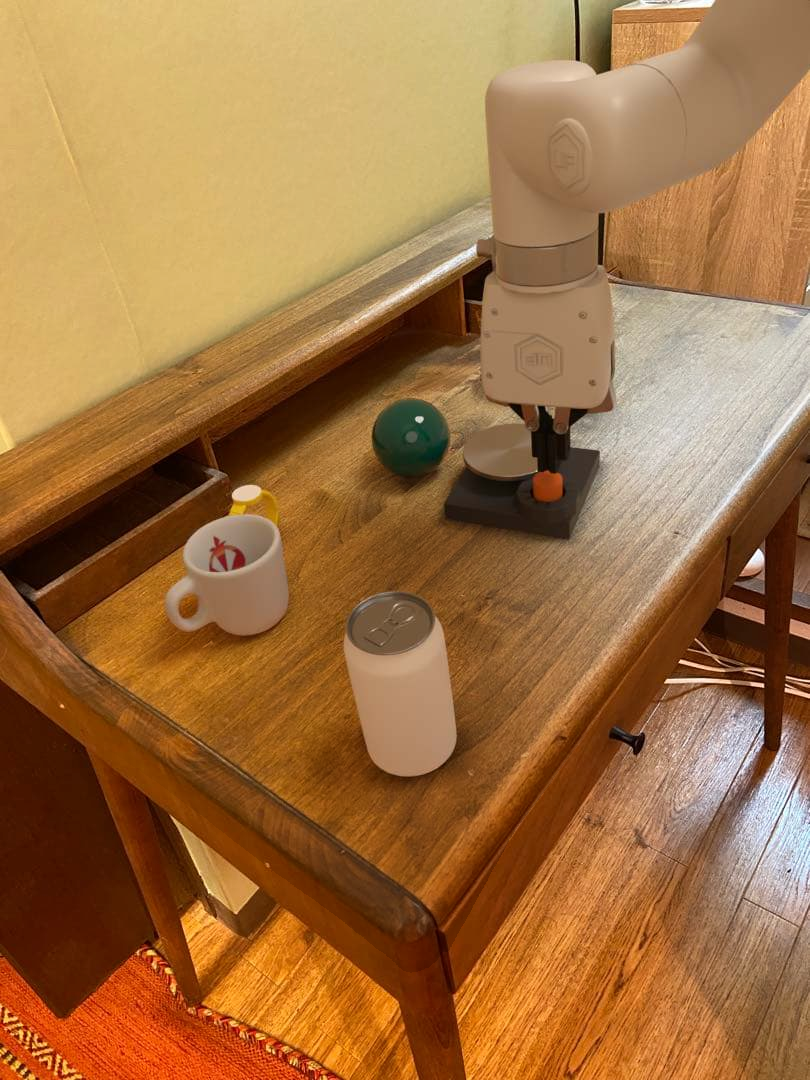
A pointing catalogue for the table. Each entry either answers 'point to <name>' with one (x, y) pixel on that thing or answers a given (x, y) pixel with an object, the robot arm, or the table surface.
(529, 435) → the brushed metal disc
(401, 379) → the table surface
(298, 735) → the table surface
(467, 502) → the scale
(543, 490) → the button
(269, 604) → the cup
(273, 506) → the watch
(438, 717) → the can
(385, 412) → the sphere
